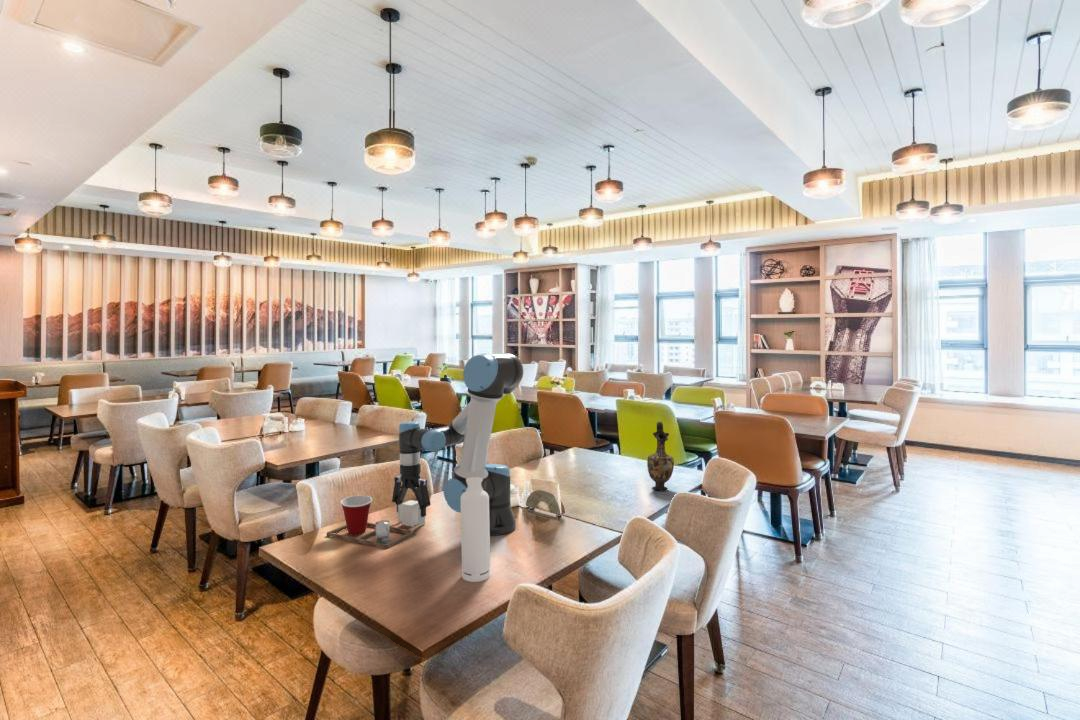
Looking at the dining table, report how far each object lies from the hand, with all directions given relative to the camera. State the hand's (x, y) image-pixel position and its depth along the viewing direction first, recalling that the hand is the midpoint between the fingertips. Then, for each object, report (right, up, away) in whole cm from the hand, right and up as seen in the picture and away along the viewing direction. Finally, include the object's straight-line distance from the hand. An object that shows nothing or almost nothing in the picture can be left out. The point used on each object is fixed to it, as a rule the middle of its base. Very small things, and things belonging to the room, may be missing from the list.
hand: (411, 523), depth 197 cm
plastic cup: (-17, -1, -9) cm, 19 cm away
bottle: (+30, -1, -45) cm, 54 cm away
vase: (+103, +2, +41) cm, 111 cm away
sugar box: (0, 0, 0) cm, 0 cm away
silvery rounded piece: (-5, -1, -19) cm, 19 cm away
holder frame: (-11, -1, -12) cm, 16 cm away
